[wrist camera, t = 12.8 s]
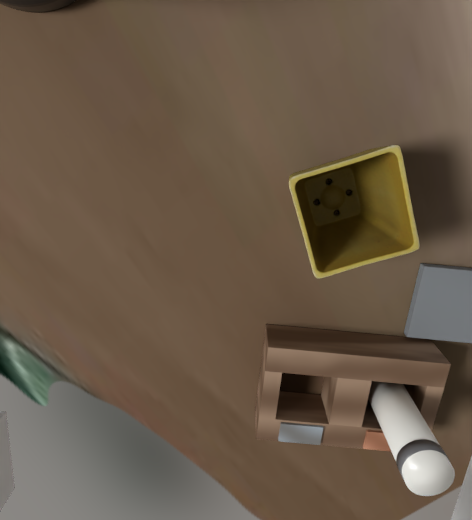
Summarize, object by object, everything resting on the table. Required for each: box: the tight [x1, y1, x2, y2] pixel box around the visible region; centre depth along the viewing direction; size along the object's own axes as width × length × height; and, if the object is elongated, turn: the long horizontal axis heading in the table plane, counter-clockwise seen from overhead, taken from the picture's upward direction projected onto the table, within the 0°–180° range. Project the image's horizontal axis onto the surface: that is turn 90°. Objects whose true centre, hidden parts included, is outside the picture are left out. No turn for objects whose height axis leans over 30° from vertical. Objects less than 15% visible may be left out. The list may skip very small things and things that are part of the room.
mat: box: [404, 263, 472, 343], centre depth 45 cm, size 8×8×1 cm
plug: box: [368, 381, 455, 496], centre depth 42 cm, size 4×4×14 cm
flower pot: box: [289, 145, 420, 278], centre depth 38 cm, size 9×9×9 cm
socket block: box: [255, 324, 451, 451], centre depth 46 cm, size 11×18×5 cm, turn 85°
